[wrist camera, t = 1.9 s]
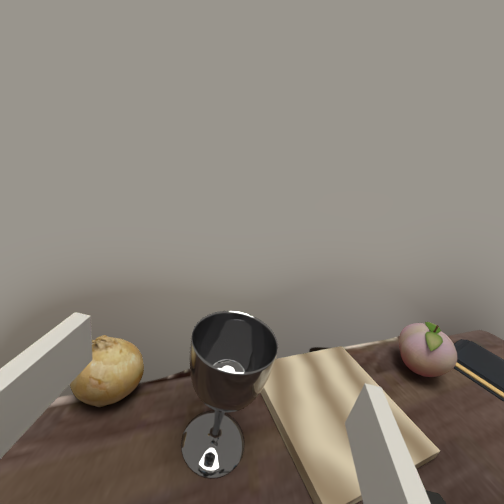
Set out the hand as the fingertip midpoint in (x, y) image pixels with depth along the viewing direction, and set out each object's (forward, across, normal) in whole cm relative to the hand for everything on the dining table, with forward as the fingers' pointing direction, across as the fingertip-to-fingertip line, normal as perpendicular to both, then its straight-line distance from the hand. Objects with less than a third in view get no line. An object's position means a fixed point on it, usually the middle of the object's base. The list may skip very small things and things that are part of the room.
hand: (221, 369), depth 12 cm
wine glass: (+10, 0, -21) cm, 24 cm away
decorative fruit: (+30, +33, -21) cm, 49 cm away
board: (+17, +15, -21) cm, 31 cm away
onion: (+13, -14, -22) cm, 29 cm away
